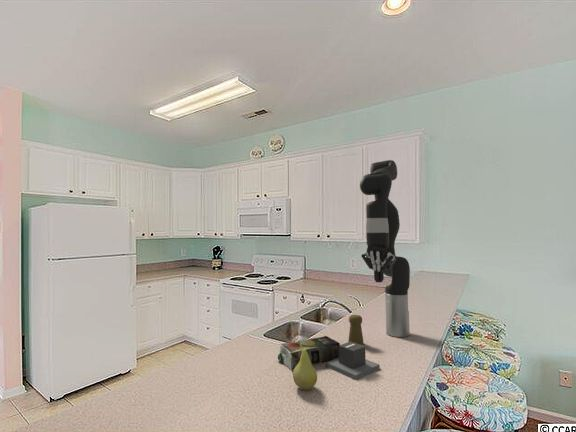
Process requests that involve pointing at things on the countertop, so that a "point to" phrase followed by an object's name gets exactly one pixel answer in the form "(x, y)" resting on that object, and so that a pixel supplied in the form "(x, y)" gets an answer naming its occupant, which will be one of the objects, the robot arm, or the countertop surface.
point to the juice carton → (309, 351)
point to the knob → (352, 355)
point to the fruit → (304, 372)
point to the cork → (355, 329)
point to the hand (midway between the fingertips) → (379, 282)
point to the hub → (351, 372)
